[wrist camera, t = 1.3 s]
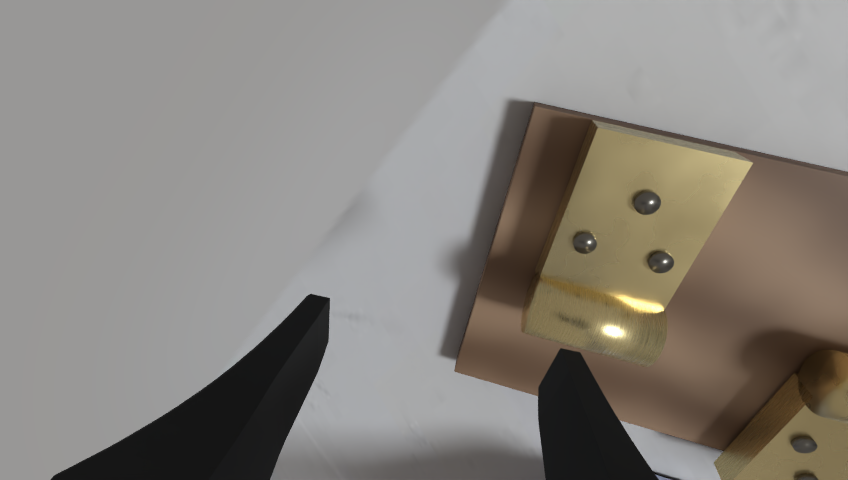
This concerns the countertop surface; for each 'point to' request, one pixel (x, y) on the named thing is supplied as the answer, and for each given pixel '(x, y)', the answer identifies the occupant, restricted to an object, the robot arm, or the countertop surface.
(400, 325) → the countertop surface
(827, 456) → the fixed leaf
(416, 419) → the countertop surface
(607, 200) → the plate
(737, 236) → the walnut board
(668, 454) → the countertop surface
